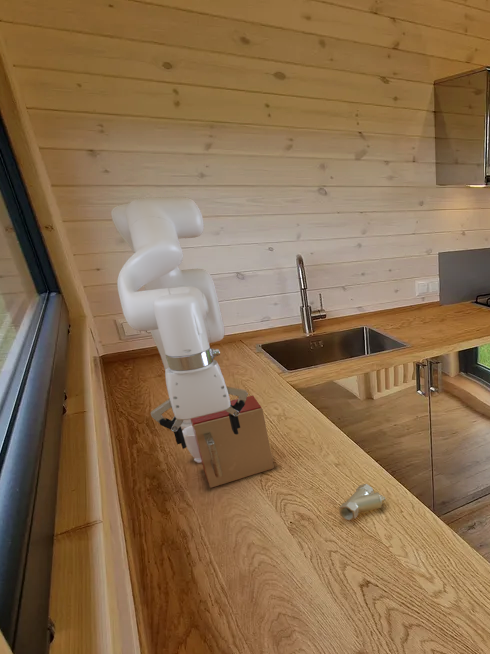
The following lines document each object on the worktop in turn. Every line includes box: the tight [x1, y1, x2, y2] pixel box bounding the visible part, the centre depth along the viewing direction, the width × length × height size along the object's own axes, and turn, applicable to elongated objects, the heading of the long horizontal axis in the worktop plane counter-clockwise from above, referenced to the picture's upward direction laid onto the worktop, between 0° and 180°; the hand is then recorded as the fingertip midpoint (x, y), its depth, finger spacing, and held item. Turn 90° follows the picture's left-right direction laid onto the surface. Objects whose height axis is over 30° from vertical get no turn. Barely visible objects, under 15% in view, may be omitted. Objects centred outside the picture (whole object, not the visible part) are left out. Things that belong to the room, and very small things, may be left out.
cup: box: [182, 426, 202, 464], centre depth 121 cm, size 7×10×8 cm
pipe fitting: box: [338, 483, 387, 522], centre depth 100 cm, size 8×4×7 cm
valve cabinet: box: [190, 395, 262, 484], centre depth 114 cm, size 8×14×16 cm, turn 125°
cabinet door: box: [194, 407, 275, 489], centre depth 108 cm, size 7×14×16 cm, turn 125°
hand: (210, 438), depth 100 cm, fingers open, 9 cm apart
